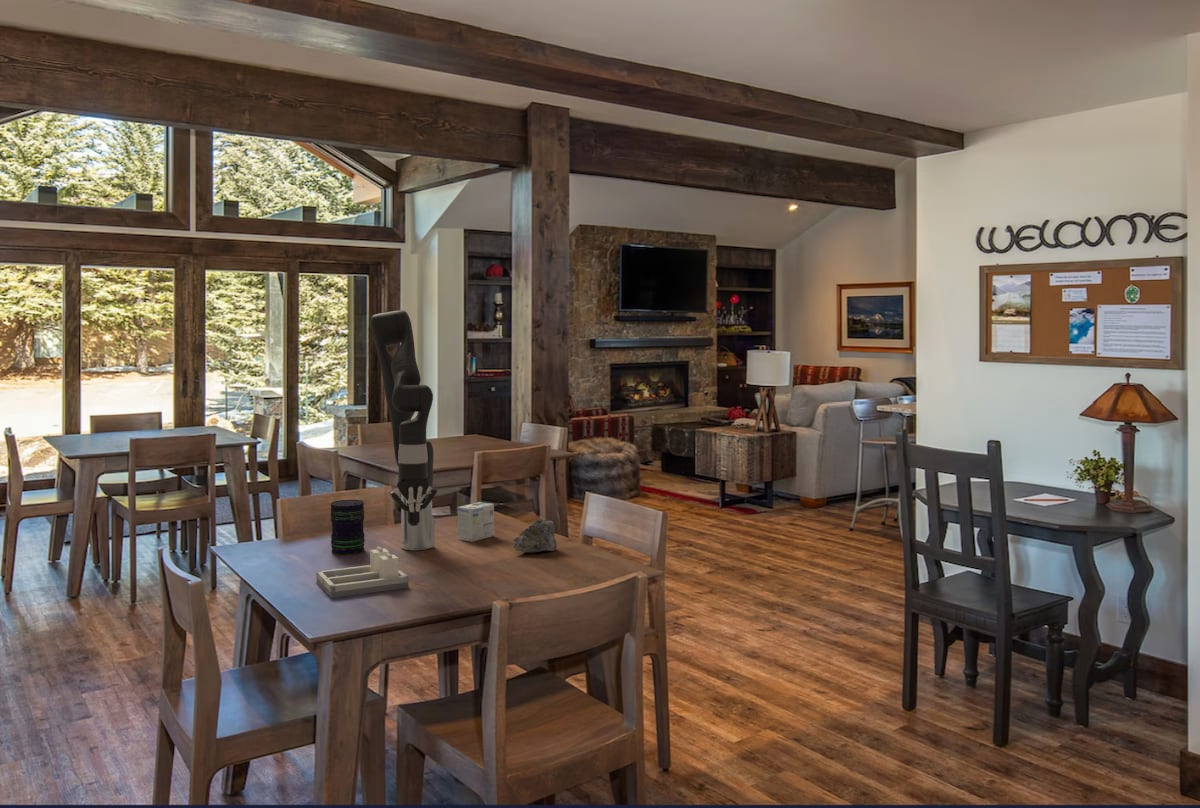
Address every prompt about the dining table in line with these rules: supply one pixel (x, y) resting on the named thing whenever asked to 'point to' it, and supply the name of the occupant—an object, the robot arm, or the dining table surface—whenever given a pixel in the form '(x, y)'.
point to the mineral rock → (536, 537)
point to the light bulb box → (475, 521)
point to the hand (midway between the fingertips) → (413, 525)
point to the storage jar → (347, 527)
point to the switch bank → (357, 581)
